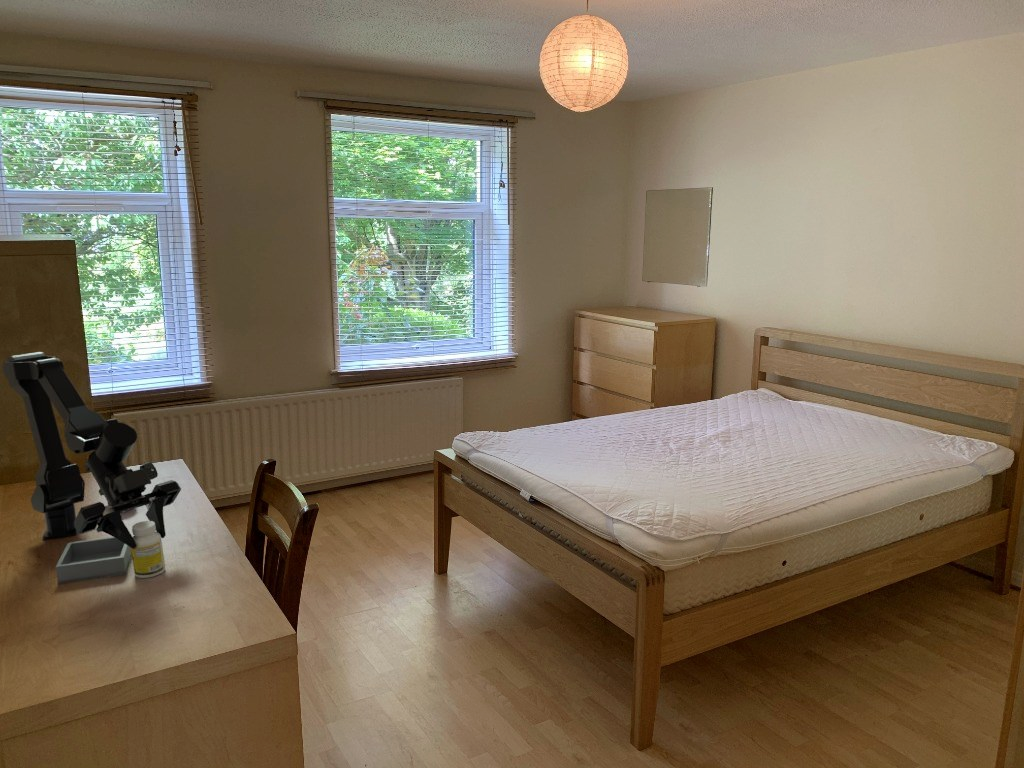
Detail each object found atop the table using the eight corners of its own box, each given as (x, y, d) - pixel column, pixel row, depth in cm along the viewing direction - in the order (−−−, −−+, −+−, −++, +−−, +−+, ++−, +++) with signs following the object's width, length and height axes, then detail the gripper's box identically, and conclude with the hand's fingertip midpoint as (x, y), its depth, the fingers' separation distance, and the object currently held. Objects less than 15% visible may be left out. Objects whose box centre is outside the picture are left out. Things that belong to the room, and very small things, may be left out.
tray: (70, 558, 152) (68, 542, 151) (133, 550, 155) (131, 534, 154) (58, 584, 141) (55, 567, 140) (125, 574, 145) (123, 557, 144)
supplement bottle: (140, 566, 148) (134, 519, 146) (169, 565, 148) (163, 518, 146) (129, 579, 143) (123, 531, 140) (159, 578, 143) (153, 529, 141)
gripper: (72, 466, 135) (112, 538, 131) (170, 440, 150) (208, 504, 146) (58, 498, 141) (95, 568, 137) (153, 471, 156) (189, 533, 152)
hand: (149, 542), depth 143 cm, fingers closed on supplement bottle, 5 cm apart
